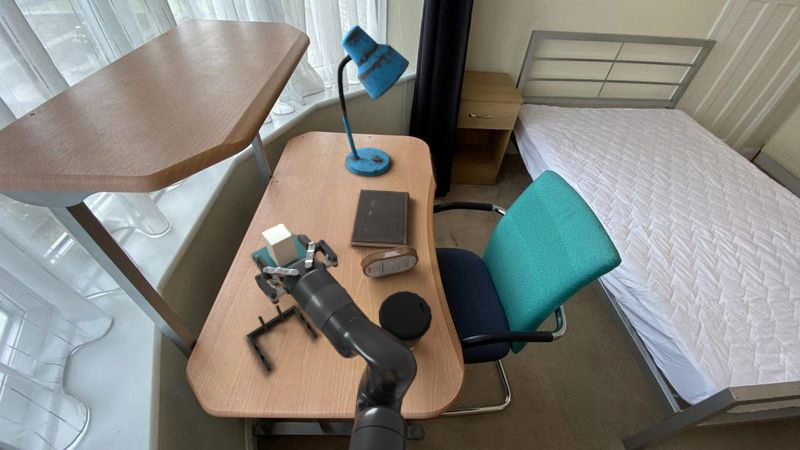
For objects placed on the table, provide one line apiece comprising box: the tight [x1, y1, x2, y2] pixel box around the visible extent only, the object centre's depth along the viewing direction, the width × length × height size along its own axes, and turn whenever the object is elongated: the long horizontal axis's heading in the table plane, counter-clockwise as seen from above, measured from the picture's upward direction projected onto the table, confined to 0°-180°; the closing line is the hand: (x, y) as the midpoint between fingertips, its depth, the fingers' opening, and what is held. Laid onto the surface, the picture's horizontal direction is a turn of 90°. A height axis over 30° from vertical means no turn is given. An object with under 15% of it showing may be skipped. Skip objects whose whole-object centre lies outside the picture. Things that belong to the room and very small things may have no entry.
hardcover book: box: [350, 188, 410, 249], centre depth 99 cm, size 16×23×2 cm
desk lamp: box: [336, 24, 410, 177], centre depth 105 cm, size 16×22×45 cm
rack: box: [246, 304, 318, 372], centre depth 70 cm, size 12×10×6 cm
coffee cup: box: [378, 290, 433, 351], centre depth 69 cm, size 11×11×12 cm
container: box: [261, 223, 298, 268], centre depth 84 cm, size 6×6×9 cm
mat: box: [251, 233, 307, 286], centre depth 88 cm, size 12×13×1 cm
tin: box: [360, 245, 419, 279], centre depth 83 cm, size 15×3×8 cm, turn 106°
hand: (279, 246), depth 64 cm, fingers open, 8 cm apart
